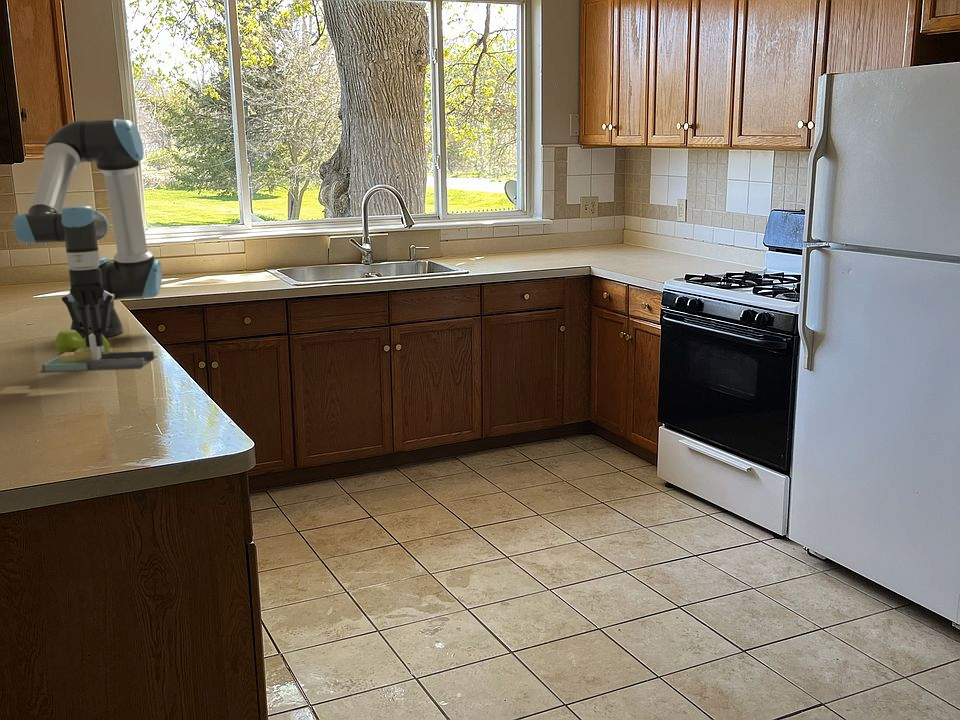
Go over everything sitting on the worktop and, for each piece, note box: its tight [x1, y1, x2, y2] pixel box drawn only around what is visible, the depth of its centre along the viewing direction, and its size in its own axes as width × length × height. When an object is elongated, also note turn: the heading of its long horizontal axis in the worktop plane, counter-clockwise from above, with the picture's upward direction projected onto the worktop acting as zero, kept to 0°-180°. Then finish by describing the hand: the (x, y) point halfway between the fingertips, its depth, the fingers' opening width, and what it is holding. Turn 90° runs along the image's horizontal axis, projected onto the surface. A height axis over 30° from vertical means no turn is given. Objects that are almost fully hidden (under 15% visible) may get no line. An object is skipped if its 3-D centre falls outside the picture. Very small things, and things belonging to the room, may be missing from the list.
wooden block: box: [58, 351, 75, 364], centre depth 239 cm, size 4×4×4 cm
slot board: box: [84, 350, 159, 372], centre depth 239 cm, size 14×14×4 cm
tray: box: [41, 355, 88, 372], centre depth 239 cm, size 11×11×3 cm
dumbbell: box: [53, 329, 111, 354], centre depth 254 cm, size 16×8×7 cm, turn 54°
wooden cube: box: [73, 348, 92, 367], centre depth 239 cm, size 4×4×4 cm
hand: (96, 358), depth 239 cm, fingers closed
